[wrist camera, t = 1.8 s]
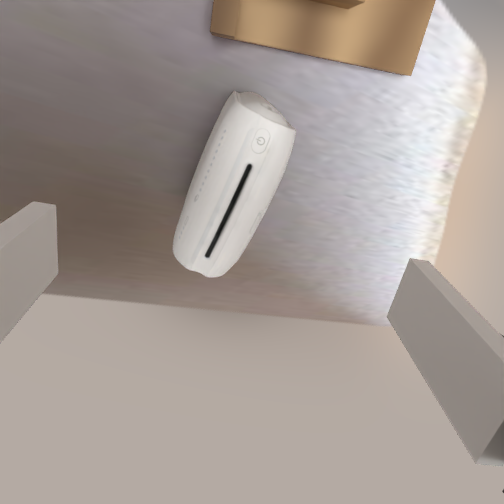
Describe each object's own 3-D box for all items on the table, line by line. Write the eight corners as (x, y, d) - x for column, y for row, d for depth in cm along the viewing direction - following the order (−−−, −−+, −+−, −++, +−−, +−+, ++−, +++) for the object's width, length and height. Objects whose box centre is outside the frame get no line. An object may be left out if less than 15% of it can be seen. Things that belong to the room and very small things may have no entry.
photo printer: (231, 78, 28) (233, 90, 17) (284, 105, 29) (317, 132, 18) (180, 202, 32) (154, 277, 21) (228, 222, 33) (227, 303, 22)
